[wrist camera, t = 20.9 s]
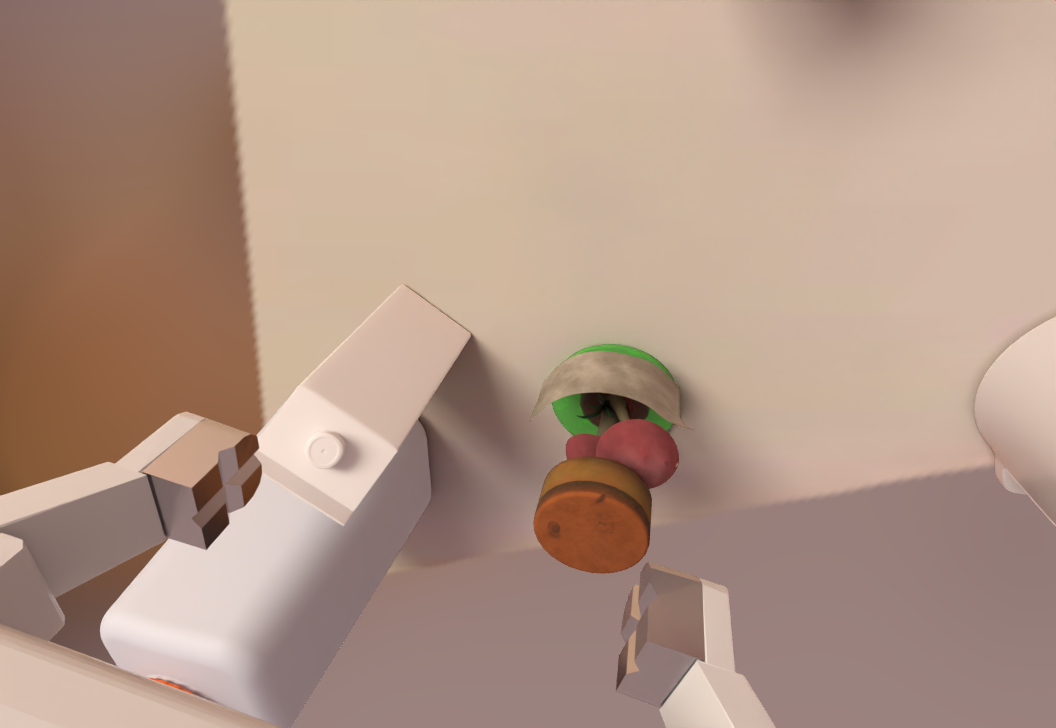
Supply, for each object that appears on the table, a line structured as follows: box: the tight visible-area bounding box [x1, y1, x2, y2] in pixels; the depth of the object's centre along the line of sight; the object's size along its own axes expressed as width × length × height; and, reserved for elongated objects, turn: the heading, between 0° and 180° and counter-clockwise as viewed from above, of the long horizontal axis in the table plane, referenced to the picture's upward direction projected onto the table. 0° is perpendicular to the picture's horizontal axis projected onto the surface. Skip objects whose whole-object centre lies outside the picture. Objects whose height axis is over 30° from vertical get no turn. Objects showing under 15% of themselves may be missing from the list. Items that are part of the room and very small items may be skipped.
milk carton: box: [254, 285, 471, 526], centre depth 40 cm, size 7×7×19 cm
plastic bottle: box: [100, 398, 431, 728], centre depth 46 cm, size 15×15×28 cm
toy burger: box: [529, 344, 693, 573], centre depth 40 cm, size 12×13×15 cm
